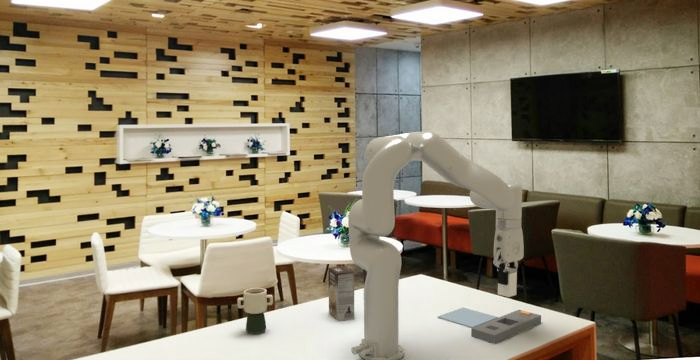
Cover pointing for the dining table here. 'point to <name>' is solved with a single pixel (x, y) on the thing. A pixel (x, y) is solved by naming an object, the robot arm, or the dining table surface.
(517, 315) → the power strip
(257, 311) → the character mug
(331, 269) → the coffee box
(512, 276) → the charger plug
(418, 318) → the dining table surface
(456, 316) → the slate mat
